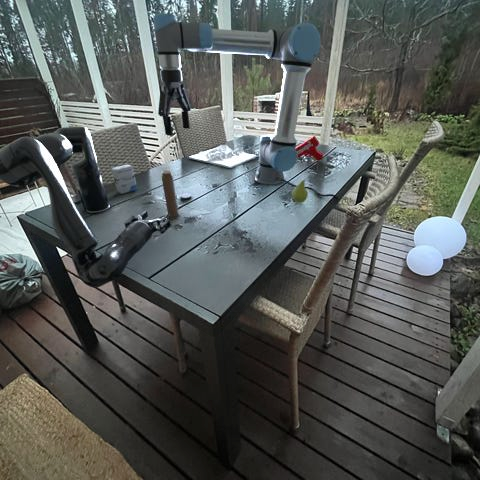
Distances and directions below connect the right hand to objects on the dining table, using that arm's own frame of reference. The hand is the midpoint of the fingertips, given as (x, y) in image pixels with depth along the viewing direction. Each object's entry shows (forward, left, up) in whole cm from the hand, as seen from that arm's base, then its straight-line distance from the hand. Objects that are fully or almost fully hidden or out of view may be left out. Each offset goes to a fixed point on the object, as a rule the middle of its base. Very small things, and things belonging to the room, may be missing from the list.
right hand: (178, 131), depth 109 cm
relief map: (+8, -66, -29) cm, 73 cm away
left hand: (-4, +29, -23) cm, 37 cm away
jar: (-3, +17, -29) cm, 34 cm away
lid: (0, 0, -28) cm, 28 cm away
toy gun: (-45, -77, -29) cm, 94 cm away
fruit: (-50, -12, -29) cm, 59 cm away
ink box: (+33, 0, -29) cm, 44 cm away
